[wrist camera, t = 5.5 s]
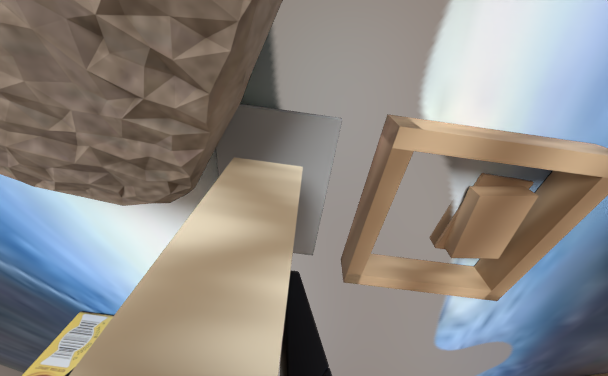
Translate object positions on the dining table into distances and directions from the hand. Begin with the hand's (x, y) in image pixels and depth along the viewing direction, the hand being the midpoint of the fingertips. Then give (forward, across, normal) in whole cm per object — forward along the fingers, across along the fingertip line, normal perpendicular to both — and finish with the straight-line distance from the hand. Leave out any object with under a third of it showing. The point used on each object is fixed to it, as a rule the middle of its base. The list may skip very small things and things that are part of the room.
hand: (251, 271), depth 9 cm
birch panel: (+3, 0, 0) cm, 3 cm away
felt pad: (+6, 0, 0) cm, 6 cm away
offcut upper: (+6, -13, 0) cm, 14 cm away
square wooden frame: (+6, -11, 0) cm, 12 cm away
